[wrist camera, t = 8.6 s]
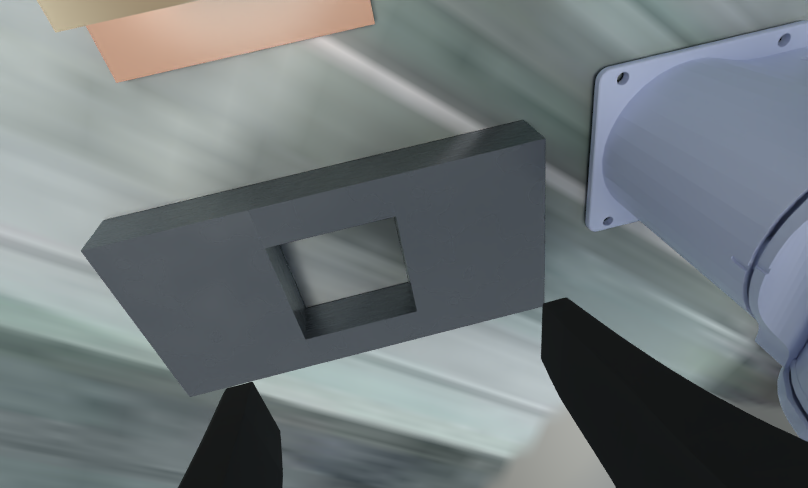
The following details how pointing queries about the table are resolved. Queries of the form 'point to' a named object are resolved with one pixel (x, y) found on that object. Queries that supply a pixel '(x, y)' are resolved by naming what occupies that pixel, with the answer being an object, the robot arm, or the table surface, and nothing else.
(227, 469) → the robot arm
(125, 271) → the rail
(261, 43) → the tile
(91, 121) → the table surface
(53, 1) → the peg
